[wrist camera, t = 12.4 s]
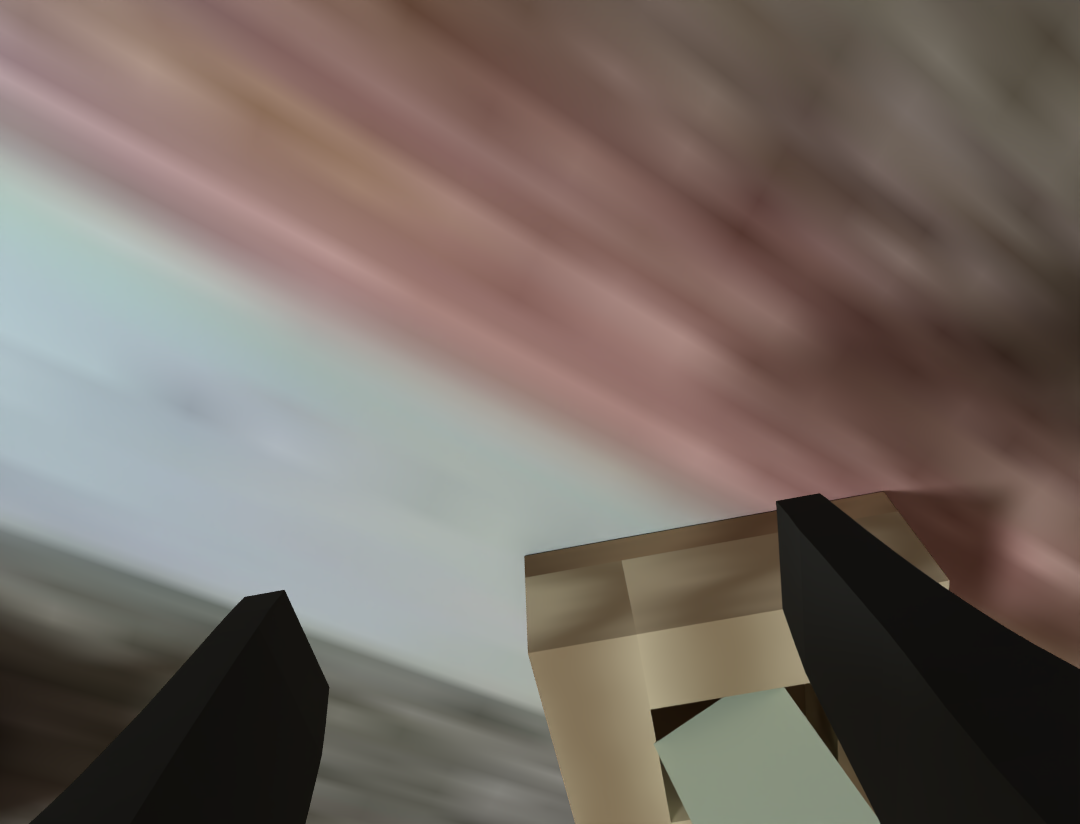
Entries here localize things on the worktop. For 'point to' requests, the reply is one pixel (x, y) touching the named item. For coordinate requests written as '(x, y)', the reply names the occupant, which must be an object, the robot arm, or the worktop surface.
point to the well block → (669, 648)
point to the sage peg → (759, 766)
